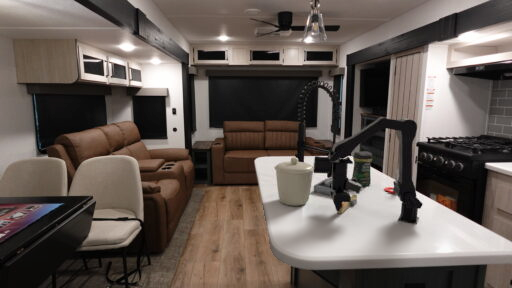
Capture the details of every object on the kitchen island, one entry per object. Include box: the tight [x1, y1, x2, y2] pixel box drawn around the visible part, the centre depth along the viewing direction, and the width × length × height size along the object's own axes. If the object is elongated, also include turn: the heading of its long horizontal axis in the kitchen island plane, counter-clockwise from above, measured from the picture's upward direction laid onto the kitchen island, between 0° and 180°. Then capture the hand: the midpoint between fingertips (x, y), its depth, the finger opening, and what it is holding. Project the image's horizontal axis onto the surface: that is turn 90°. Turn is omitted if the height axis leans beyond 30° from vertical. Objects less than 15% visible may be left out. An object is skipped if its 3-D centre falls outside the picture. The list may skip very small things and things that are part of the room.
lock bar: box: [336, 194, 358, 215], centre depth 126 cm, size 20×2×4 cm, turn 144°
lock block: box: [324, 176, 332, 188], centre depth 146 cm, size 10×7×7 cm
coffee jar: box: [351, 151, 373, 187], centre depth 157 cm, size 10×8×19 cm
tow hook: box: [383, 167, 399, 195], centre depth 146 cm, size 8×13×9 cm
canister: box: [273, 156, 314, 207], centre depth 130 cm, size 18×18×21 cm
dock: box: [313, 178, 358, 207], centre depth 142 cm, size 23×23×4 cm
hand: (337, 210), depth 116 cm, fingers closed
